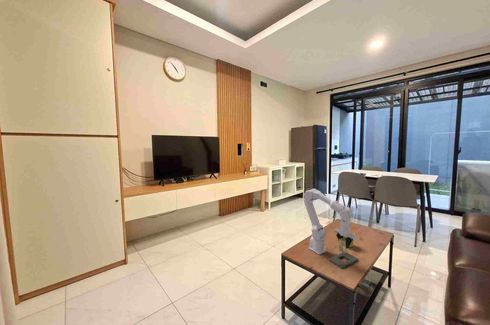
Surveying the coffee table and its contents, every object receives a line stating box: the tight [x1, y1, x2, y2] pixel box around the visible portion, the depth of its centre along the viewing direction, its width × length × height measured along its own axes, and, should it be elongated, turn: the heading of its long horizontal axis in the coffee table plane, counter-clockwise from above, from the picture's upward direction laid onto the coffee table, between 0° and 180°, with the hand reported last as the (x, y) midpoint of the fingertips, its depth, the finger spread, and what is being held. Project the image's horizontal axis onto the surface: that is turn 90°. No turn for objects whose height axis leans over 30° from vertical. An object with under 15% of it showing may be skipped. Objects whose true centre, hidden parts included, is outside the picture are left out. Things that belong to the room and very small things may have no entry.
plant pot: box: [343, 232, 356, 249], centre depth 153 cm, size 9×9×9 cm
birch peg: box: [338, 238, 349, 254], centre depth 133 cm, size 4×4×8 cm
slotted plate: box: [328, 252, 359, 270], centre depth 134 cm, size 10×17×2 cm, turn 121°
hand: (344, 246), depth 133 cm, fingers closed on birch peg, 4 cm apart
